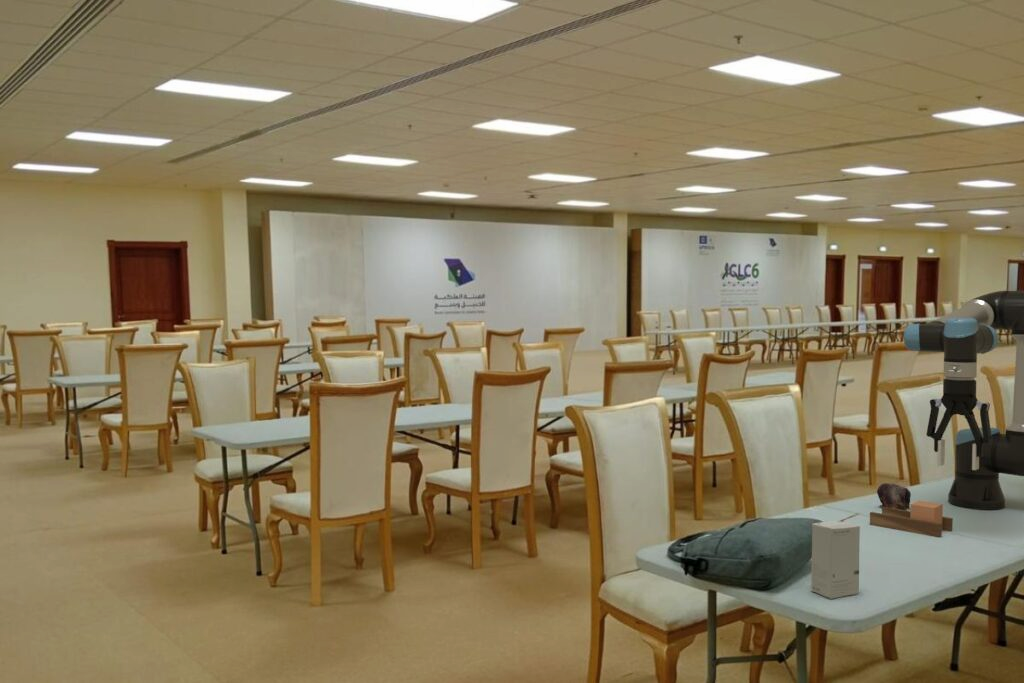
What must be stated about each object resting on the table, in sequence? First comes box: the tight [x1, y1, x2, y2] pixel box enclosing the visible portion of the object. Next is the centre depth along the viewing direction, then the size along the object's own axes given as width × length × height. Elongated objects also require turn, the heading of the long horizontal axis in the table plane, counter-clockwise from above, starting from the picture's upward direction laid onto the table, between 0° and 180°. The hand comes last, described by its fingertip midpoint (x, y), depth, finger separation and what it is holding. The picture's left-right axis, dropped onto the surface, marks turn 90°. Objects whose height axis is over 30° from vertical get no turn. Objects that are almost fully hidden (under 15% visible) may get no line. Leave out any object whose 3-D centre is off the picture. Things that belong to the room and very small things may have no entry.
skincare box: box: [810, 520, 861, 600], centre depth 183 cm, size 8×6×15 cm
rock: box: [876, 482, 912, 511], centre depth 252 cm, size 12×9×10 cm
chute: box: [839, 506, 954, 539], centre depth 233 cm, size 12×26×4 cm, turn 45°
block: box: [909, 500, 944, 524], centre depth 227 cm, size 6×6×7 cm
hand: (958, 466), depth 221 cm, fingers open, 8 cm apart
